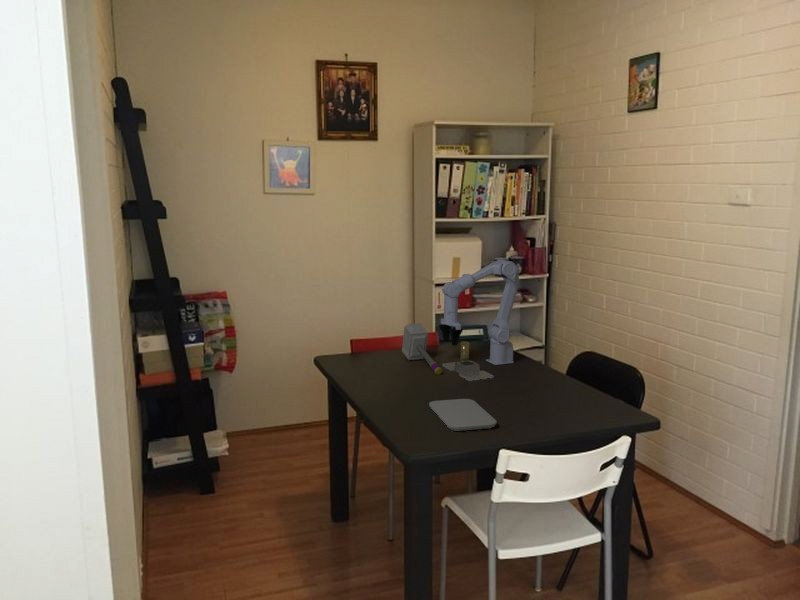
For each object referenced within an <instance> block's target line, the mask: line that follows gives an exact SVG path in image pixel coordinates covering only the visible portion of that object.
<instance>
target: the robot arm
mask: <svg viewBox="0 0 800 600" xmlns="http://www.w3.org/2000/svg"><path fill="white" fill-rule="evenodd" d="M518 271H519V267H518V266H517V265H516V264H515V263H514V262H513V261H510V260H506V259H505V258H498V259H497V260H494V261H492V262H491V263H489V264H488V265H485V266H484V267H482V268H481V269H479V270H477V271H475V272H474V273H472V274H470V273H463V274H462V276H460V277H458V278H456V279H452V281H448V282H446V283H444V285H443V287H442V288H441V292H442V294H443V295H444V296H443V318H440V324H438V327H439V329H440V331H441V335H442V340H443V342H450V338H451V345H452V346H453V347H454V346H458V343H459V341H460V340H459V339H460V337H461V334H462V333H463V332H464V328H462V324H460V323H459V321H458V318H459V316H458V314H459V310H458V309H459V296H460V294H461V293H463V292H465V291H467V290H468V289H470V288H472V287H474V286H475V284H476V282H478V281H479V280H482V279H484V278H486V277H488V276H492V275H499V276H501V277H502V280H504V283H505V285H504V289H503V293H502V297H501V299H500V304H499V307H498V311H497V315H496V318H495V319H494V320H493V321H492V324H491V326H490V327H489V329H488V336H489V337H490V343H489V345H490V347H489V348H490V349H489V358H488V359H485V361H486V362H488V363H490V364H492V365H494V366H498V365H507V364H508V365H509V364H514V345H513V342H511V341H510V337H511V332H510V331H511V325H510V318H511V315H512V311H513V307H514V303H515V300H516V296H517V292H518V289H519V285H520V278H519V277H520V276H519V274H518V273H519V272H518Z"/></svg>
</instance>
